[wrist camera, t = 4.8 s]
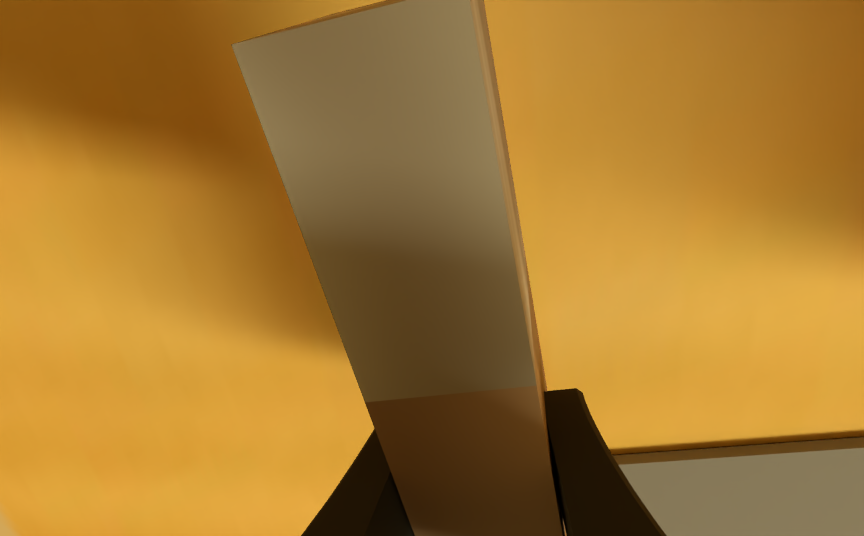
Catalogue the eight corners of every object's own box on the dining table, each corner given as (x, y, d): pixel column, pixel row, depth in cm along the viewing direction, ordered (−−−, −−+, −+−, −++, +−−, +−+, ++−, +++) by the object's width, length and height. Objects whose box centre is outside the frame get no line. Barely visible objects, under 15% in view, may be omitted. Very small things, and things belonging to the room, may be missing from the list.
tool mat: (1005, 426, 20) (1016, 436, 19) (950, 574, 24) (959, 586, 23) (420, 469, 24) (418, 479, 23) (460, 588, 28) (459, 598, 28)
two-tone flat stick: (479, -24, 9) (466, -14, 5) (577, 576, 16) (599, 746, 12) (333, 14, 9) (231, 44, 6) (493, 578, 16) (492, 743, 13)
